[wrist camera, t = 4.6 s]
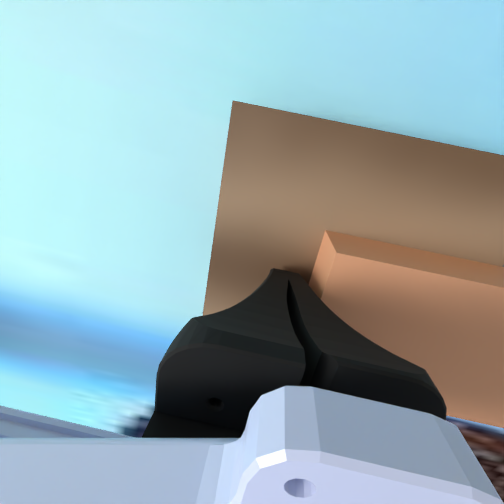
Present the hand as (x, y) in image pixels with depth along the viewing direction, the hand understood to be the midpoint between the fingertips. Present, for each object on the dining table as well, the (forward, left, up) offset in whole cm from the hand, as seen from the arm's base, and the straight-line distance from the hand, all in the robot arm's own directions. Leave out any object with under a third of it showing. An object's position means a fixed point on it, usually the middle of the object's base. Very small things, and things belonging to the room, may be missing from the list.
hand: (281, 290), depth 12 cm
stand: (0, -3, -3) cm, 4 cm away
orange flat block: (0, -6, 0) cm, 6 cm away
